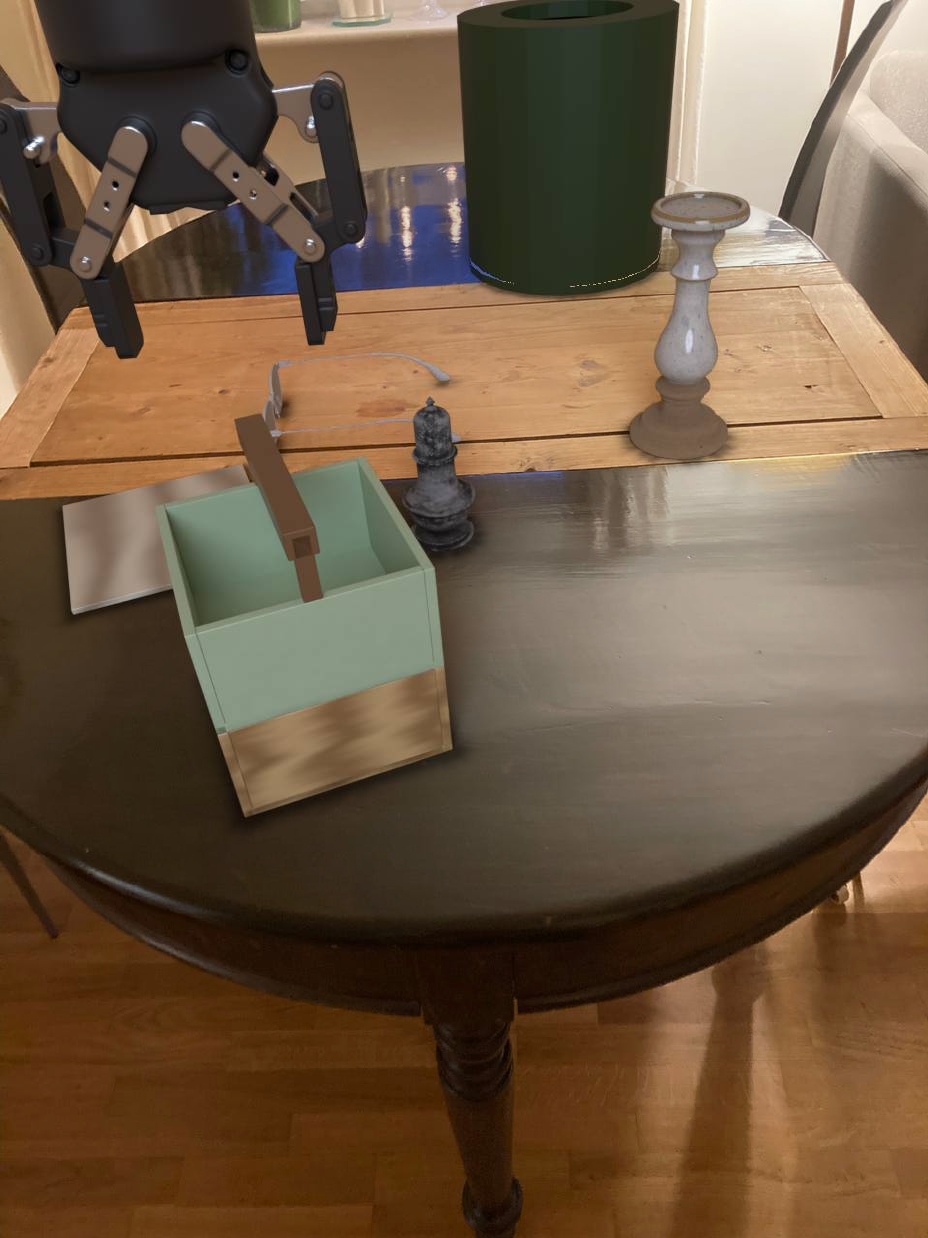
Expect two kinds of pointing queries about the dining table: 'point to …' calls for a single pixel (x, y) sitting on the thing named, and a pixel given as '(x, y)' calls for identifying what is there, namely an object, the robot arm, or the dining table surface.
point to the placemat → (128, 539)
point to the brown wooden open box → (338, 741)
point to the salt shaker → (437, 485)
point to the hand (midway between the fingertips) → (225, 345)
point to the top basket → (297, 586)
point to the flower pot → (566, 139)
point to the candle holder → (688, 329)
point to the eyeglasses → (271, 424)
